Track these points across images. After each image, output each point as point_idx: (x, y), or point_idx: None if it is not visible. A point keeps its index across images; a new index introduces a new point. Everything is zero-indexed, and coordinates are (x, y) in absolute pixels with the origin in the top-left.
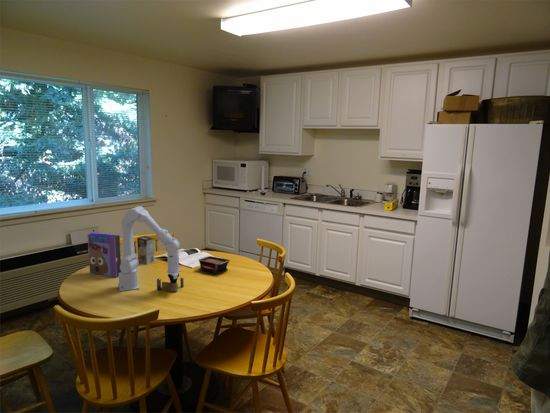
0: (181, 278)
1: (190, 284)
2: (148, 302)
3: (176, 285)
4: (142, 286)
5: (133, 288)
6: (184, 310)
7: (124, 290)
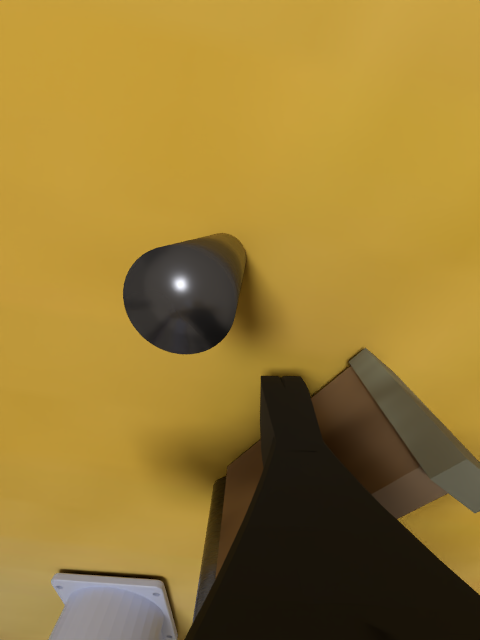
0: (218, 325)
1: (143, 69)
2: (461, 571)
3: (454, 439)
4: (114, 556)
5: (162, 606)
6: None
7: (174, 626)
